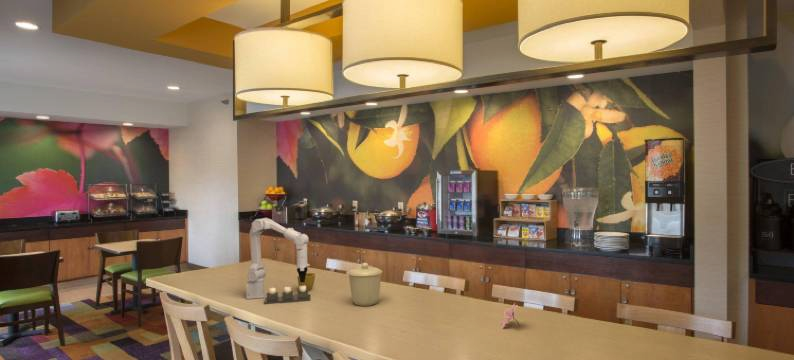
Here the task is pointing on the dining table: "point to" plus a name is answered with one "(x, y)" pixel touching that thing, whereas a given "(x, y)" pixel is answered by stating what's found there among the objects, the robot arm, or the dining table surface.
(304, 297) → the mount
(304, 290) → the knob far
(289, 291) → the knob middle
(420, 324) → the dining table surface
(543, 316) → the dining table surface
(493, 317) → the dining table surface
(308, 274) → the flower pot
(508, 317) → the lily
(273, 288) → the knob near
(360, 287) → the canister
